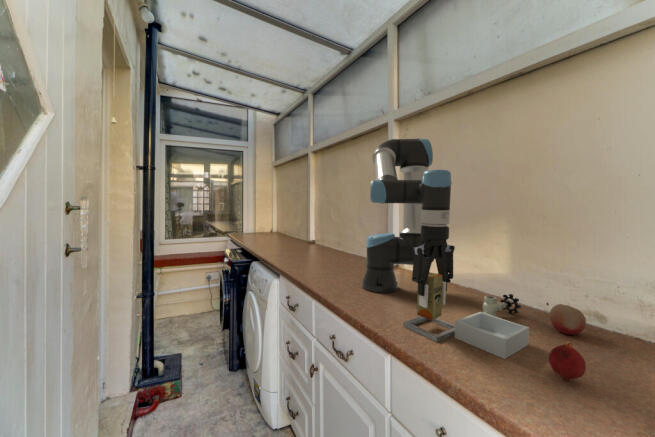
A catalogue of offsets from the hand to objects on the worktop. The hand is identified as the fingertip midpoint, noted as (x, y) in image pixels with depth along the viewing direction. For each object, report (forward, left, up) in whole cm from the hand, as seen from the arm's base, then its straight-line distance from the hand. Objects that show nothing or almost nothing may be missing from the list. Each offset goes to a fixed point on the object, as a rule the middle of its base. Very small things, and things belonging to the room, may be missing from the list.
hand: (432, 304), depth 82 cm
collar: (0, 0, -7) cm, 7 cm away
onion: (+30, +3, -7) cm, 31 cm away
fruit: (+22, +31, -7) cm, 39 cm away
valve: (+5, +27, -7) cm, 29 cm away
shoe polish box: (-1, 0, -4) cm, 4 cm away
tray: (+13, +7, -7) cm, 17 cm away
